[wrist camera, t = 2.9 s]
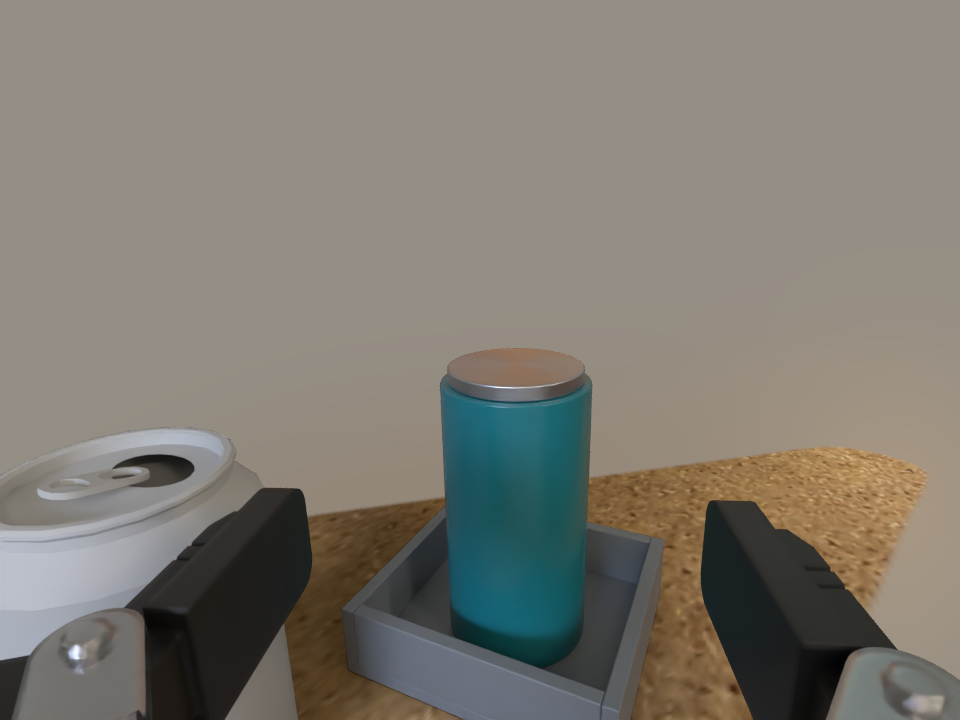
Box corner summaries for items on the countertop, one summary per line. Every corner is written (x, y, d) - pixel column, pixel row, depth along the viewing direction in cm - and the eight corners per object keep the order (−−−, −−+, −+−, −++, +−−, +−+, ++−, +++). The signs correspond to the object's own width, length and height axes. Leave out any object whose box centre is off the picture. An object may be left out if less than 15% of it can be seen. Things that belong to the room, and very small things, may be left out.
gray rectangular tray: (347, 670, 23) (340, 608, 22) (460, 539, 32) (458, 491, 31) (615, 785, 18) (619, 712, 17) (660, 593, 27) (664, 538, 26)
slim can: (425, 643, 23) (409, 377, 20) (484, 562, 28) (480, 341, 25) (559, 693, 21) (566, 398, 17) (598, 595, 26) (608, 353, 23)
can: (346, 743, 20) (311, 438, 16) (134, 998, 13) (8, 586, 10) (215, 664, 23) (165, 400, 20) (0, 835, 17) (-126, 492, 14)
